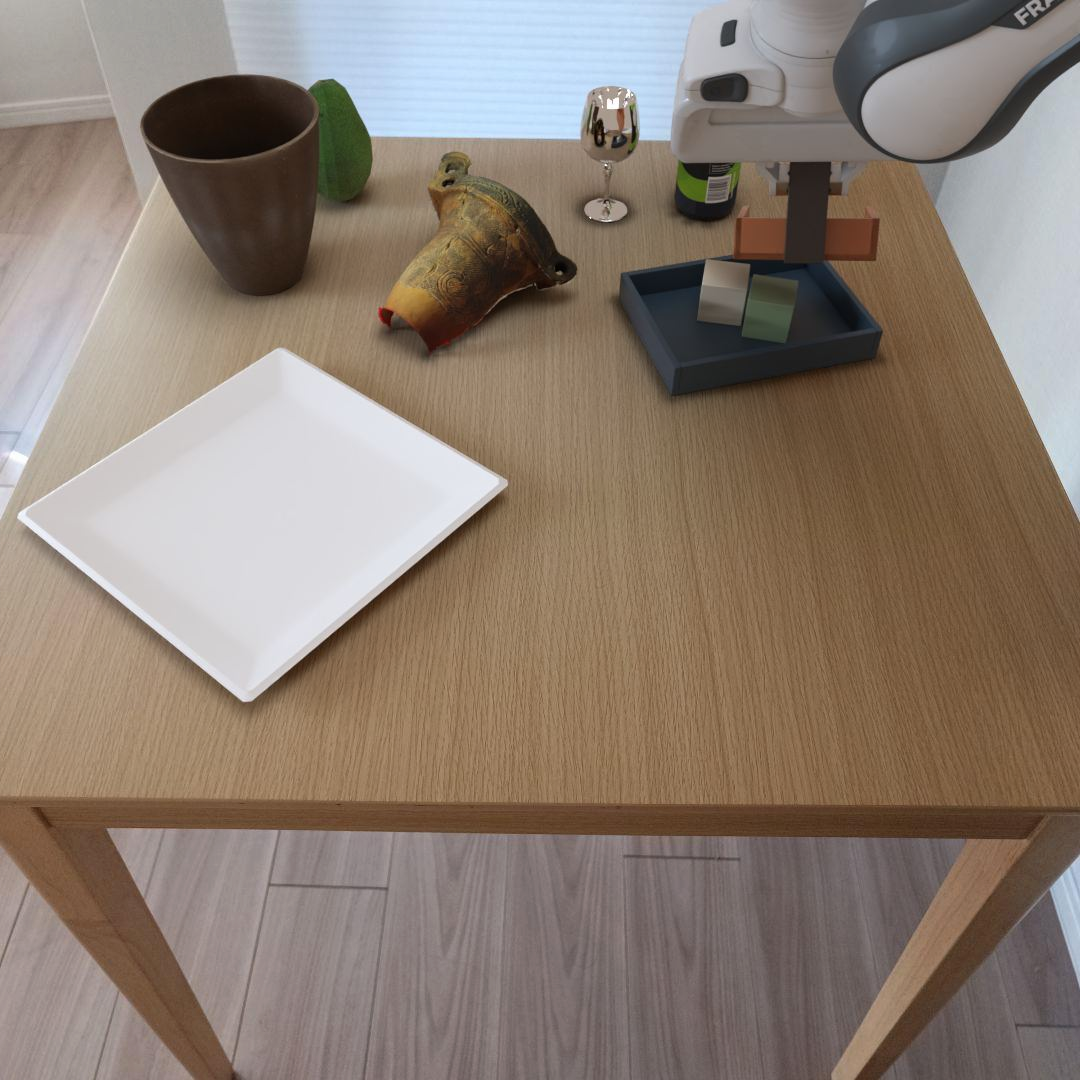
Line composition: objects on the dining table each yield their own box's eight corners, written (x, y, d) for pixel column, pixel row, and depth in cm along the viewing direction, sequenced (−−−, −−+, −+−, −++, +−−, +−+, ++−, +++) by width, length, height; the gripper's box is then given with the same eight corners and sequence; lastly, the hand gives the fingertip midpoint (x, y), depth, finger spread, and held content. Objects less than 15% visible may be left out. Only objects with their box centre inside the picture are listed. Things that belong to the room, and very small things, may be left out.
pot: (315, 240, 93) (452, 103, 97) (331, 303, 104) (454, 177, 108) (472, 361, 91) (605, 215, 95) (472, 413, 102) (591, 280, 106)
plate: (511, 499, 85) (511, 480, 84) (252, 720, 72) (246, 703, 70) (284, 362, 96) (280, 343, 95) (22, 532, 83) (13, 513, 81)
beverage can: (742, 198, 114) (764, 55, 103) (723, 228, 111) (744, 83, 99) (685, 185, 116) (701, 42, 105) (665, 214, 112) (679, 69, 101)
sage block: (798, 280, 97) (790, 317, 100) (753, 273, 98) (747, 310, 101) (794, 306, 94) (786, 344, 97) (747, 299, 95) (741, 337, 98)
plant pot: (331, 322, 100) (304, 160, 88) (168, 321, 100) (119, 159, 88) (351, 231, 110) (329, 74, 98) (203, 230, 110) (162, 73, 98)
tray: (807, 268, 106) (812, 241, 104) (875, 357, 97) (883, 330, 95) (618, 299, 102) (620, 272, 100) (671, 396, 93) (674, 368, 91)
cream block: (750, 263, 99) (744, 300, 102) (706, 258, 99) (701, 295, 102) (747, 289, 96) (741, 326, 99) (701, 284, 97) (696, 321, 100)
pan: (877, 264, 84) (890, 124, 80) (731, 262, 86) (737, 126, 82) (869, 244, 95) (880, 121, 92) (741, 243, 98) (747, 123, 94)
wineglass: (587, 229, 110) (591, 115, 101) (570, 199, 114) (573, 87, 105) (641, 221, 111) (650, 107, 102) (623, 192, 115) (630, 80, 106)
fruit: (303, 221, 111) (283, 107, 102) (296, 181, 116) (276, 69, 107) (382, 211, 112) (369, 98, 103) (372, 172, 118) (358, 61, 109)
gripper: (987, 2, 71) (951, 155, 83) (669, 14, 75) (680, 158, 88) (988, 76, 68) (951, 222, 81) (660, 84, 73) (673, 222, 85)
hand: (808, 189), depth 84 cm, fingers closed on pan, 3 cm apart
